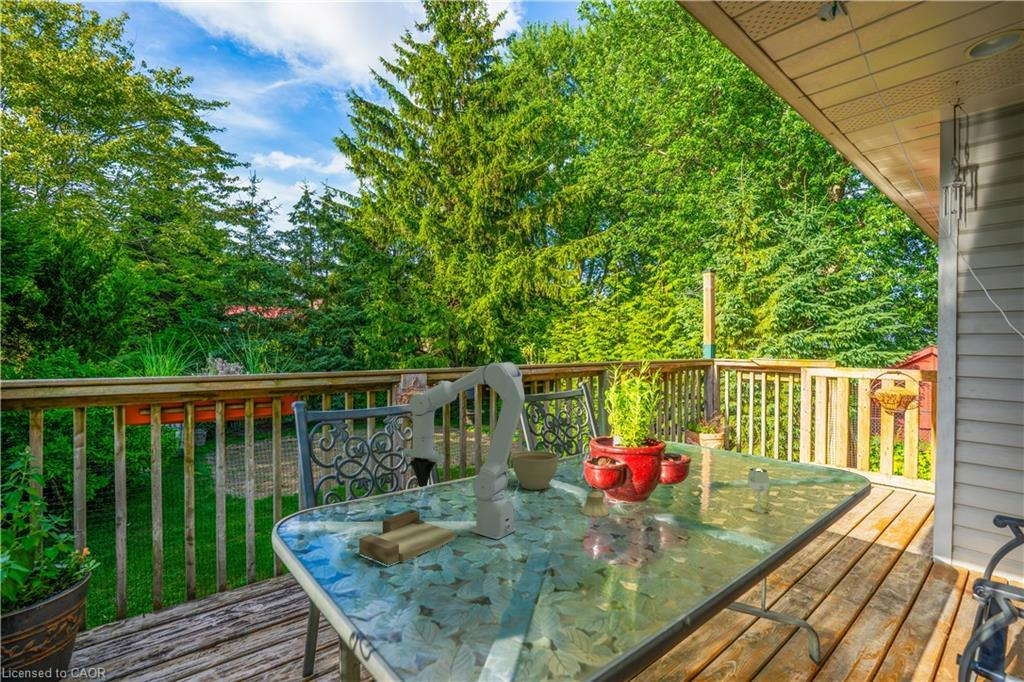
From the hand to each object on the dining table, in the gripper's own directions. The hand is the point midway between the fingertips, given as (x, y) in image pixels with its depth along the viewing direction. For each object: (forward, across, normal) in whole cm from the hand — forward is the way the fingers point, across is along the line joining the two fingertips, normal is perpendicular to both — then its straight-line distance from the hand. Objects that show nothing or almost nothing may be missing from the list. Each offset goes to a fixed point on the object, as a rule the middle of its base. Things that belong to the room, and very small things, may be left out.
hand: (422, 485), depth 137 cm
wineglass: (+10, -73, -66) cm, 99 cm away
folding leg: (+9, -2, +10) cm, 13 cm away
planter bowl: (+10, -6, -47) cm, 48 cm away
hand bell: (+10, -35, -35) cm, 50 cm away
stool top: (+9, -11, +15) cm, 21 cm away
